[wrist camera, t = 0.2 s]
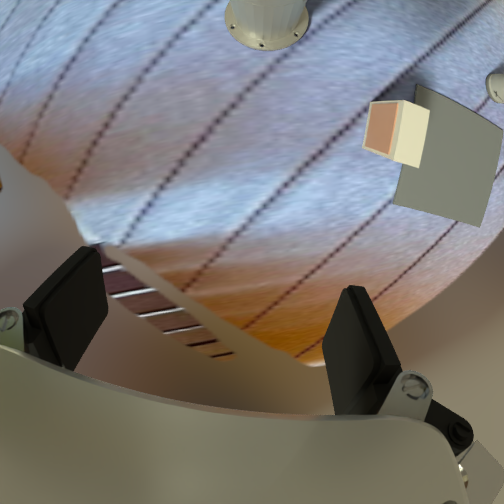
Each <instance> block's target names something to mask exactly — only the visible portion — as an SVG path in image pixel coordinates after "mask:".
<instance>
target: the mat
mask: <svg viewBox="0 0 504 504" xmlns="http://www.w3.org/2000/svg"><path fill="white" fill-rule="evenodd" d="M414 104H416V105H418V106H421V107H423V108H425V109H428V110H430V113H429V120H428V126H427V131H426V137H425V142H424V147H423V152H422V156H421V161H420V165H419V168H416V167H413V166H410V165H407V164H402V168H401V172H400V177H399V181H398V185H397V189H396V192H395V196H394V200H393V204H395V205H399V206H404V207H408V208H412V209H416V210H420V211H424V212H427V213H431V214H435V215H439V216H442V217H446V218H449V219H453V220H456V221H460V222H463V223H467V224H470V225H473V226H476V227H480V226H481V223H482V220H483V217H484V214H485V210H486V207H487V204H488V200H489V197H490V193H491V190H492V186H493V182H494V178H495V173H496V169H497V165H498V160H499V155H500V149H501V144H502V138H503V130H501V129H500V128H498V127H497V126H495V125H493V124H492V123H490V122H489V121H487V120H486V119H484V118H482V117H481V116H479V115H477V114H476V113H474V112H472V111H470V110H469V109H467V108H465V107H463V106H461V105H460V104H458V103H456V102H454V101H452V100H450V99H448V98H446V97H444V96H442V95H440V94H438V93H436V92H434V91H431V90H429V89H427V88H425V87H423V86H420V85H418V84H416V91H415V98H414Z"/></svg>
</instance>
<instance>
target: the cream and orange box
mask: <svg viewBox="0 0 504 504" xmlns="http://www.w3.org/2000/svg"><path fill="white" fill-rule="evenodd" d="M429 113H430V110H428V109H425V108H423V107H421V106H418V105H416V104H413V103H411V102H408V101H405V100H395V101H377V102H370V107H369V113H368V119H367V125H366V130H365V136H364V141H363V146H362V148H363V149H365V150H368V151H371V152H373V153H376V154H378V155H381V156H384V157H386V158H388V159H391V160H393V161H397V162H400V163H403V164H407V165H410V166H413V167H416V168H419V165H420V161H421V156H422V152H423V147H424V142H425V137H426V131H427V126H428V120H429Z"/></svg>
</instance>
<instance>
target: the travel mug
mask: <svg viewBox="0 0 504 504" xmlns="http://www.w3.org/2000/svg"><path fill="white" fill-rule="evenodd" d="M486 89H487V92H488V94H489V96H490V98H491V99H492V100H493V101H494V102H496V103H503V104H504V74H489V75H488V76H487V78H486Z"/></svg>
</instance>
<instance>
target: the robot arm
mask: <svg viewBox="0 0 504 504" xmlns="http://www.w3.org/2000/svg"><path fill="white" fill-rule="evenodd" d="M306 2H307V0H230V1H229V3H228V5H227V7H226V10H225V23H226V26H227V29H228V30H229V32H230V34H231V35H232V36H233V37H234V38H235V39H236V40H237V41H238V42H240V43H241V44H243V45H245V46H247V47H249V48H252V49H255V50H261V51H274V50H280V49H284V48H287V47H289V46H291V45H293V44H294V43H296V42H297V41H298V40H299V39H300V38H301V37H302V36H303V34H304V33H305V31H306V29H307V26H308V21H309V16H308V11H307V8H306V6H305V4H306ZM232 27H234V29H231V28H232ZM294 35H297V37H296V36H294ZM261 45H264V47H261ZM23 307H24V312H23V313H22V312H21V311H20V310H19V309H17V308H14V307H9V308H5V309H2V310H0V504H492V502H493V501H494V499H495V498H496V496H497V494H498V493H499V491H500V489H501V488H502V486H503V483H504V469H503V468H502V466H501V465H500V464H499V463H498V462H497V461H496V459H495V458H494V457H493V456H492V455H491V454H490V453H489V452H488V451H487V450H486V449H485V448H484V447H483V445H482V444H481V443H480V442H479V441H478V440H477V441H475V442H474V441H473V437H474V434H473V430H472V427H471V425H470V424H469V423H468V421H466V420H465V419H464V418H462V417H460V416H459V415H457V414H456V413H454V412H452V411H451V410H449V409H447V408H446V407H444V406H443V405H441V404H439V403H438V402H436V401H434V400H433V399H432V396H433V389H432V385H431V383H430V382H429V380H428V379H427V378H426V377H425V376H423V375H422V374H421V373H418V372H416V371H411V370H409V371H404V372H403V371H402V368H401V366H400V365H401V364H400V361H399V359H398V357H397V355H396V352H395V350H394V348H393V345H392V343H391V341H390V339H389V337H388V334H387V332H386V330H385V328H384V326H383V324H382V322H381V320H380V317H379V315H378V313H377V311H376V309H375V307H374V305H373V303H372V301H371V299H370V297H369V295H368V293H367V291H366V289H365V288H364V287H362V286H354V285H349V286H348V287H347V288H344V289H343V290H342V293H341V295H340V298H339V301H338V304H337V306H336V309H335V311H334V314H333V317H332V319H331V322H330V324H329V327H328V329H327V332H326V334H325V336H324V339H323V342H322V350H323V355H324V359H325V364H326V369H327V374H328V379H329V384H330V389H331V394H332V400H333V406H334V411H335V415H299V414H298V415H297V414H277V413H262V412H252V411H242V410H233V409H226V408H218V407H212V406H205V405H199V404H193V403H187V402H182V401H177V400H172V399H167V398H163V397H158V396H154V395H150V394H146V393H142V392H138V391H134V390H130V389H126V388H123V387H119V386H116V385H112V384H109V383H106V382H102V381H99V380H96V379H93V378H90V377H87V376H84V375H81V374H78V373H76V372H73V371H74V369H75V368H76V366H77V364H78V362H79V361H80V359H81V357H82V355H83V354H84V352H85V350H86V349H87V347H88V345H89V344H90V342H91V340H92V339H93V337H94V335H95V334H96V332H97V330H98V328H99V327H100V326H101V324H102V322H103V321H104V319H105V318H106V316H107V314H108V303H107V297H106V292H105V285H104V279H103V272H102V265H101V257H100V254H99V253H98V252H97V250H96V249H95V248H92V247H86V246H82V247H80V248H79V249H78V250H77V251H76V252H75V253H74V254H73V255H72V256H70V257H69V258H68V259H67V260H66V261H65V262H64V263H63V264H62V265H61V266H60V267H59V268H58V269H57V270H56V271H55V272H54V273H53V274H52V275H51V276H50V277H49V278H48V279H47V280H46V281H45V282H44V283H43V284H42V285H41V286H40V287H39V288H38V289H37V290H36V291H35V292H34V293H33V294H32V295H31V296H30V297H29V298H28V299H27V300H26V301H25V302H24V304H23Z"/></svg>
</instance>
